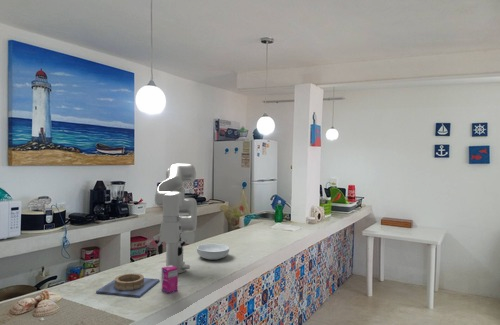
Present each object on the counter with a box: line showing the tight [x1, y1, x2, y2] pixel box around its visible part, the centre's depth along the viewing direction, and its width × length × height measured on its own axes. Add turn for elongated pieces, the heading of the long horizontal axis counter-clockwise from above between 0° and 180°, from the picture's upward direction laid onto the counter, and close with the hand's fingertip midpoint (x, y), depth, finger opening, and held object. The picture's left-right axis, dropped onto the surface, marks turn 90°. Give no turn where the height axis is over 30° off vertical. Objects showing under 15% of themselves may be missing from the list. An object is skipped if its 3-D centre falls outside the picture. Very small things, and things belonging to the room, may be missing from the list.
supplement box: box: [161, 265, 179, 295], centre depth 178 cm, size 6×6×12 cm
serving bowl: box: [196, 243, 230, 261], centre depth 236 cm, size 21×21×7 cm
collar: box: [95, 272, 161, 298], centre depth 182 cm, size 22×22×4 cm
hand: (170, 254), depth 178 cm, fingers open, 9 cm apart
